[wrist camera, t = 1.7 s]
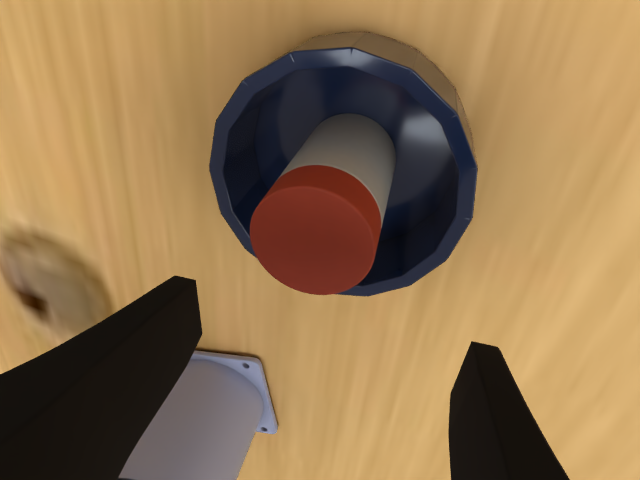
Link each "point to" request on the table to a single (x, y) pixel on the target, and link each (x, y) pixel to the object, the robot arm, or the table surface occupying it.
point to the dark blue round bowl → (367, 100)
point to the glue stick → (327, 207)
